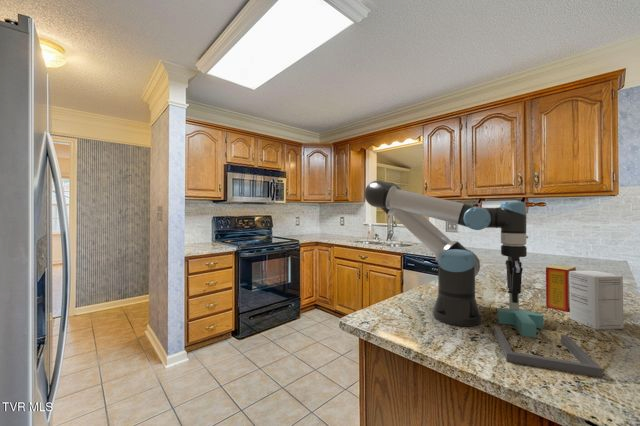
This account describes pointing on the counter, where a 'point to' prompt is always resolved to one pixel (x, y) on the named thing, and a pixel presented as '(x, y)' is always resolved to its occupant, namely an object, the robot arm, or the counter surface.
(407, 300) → the counter surface
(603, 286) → the supplement box
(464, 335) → the counter surface
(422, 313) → the counter surface
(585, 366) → the frame
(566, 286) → the baking soda box
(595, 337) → the counter surface
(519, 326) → the t block
